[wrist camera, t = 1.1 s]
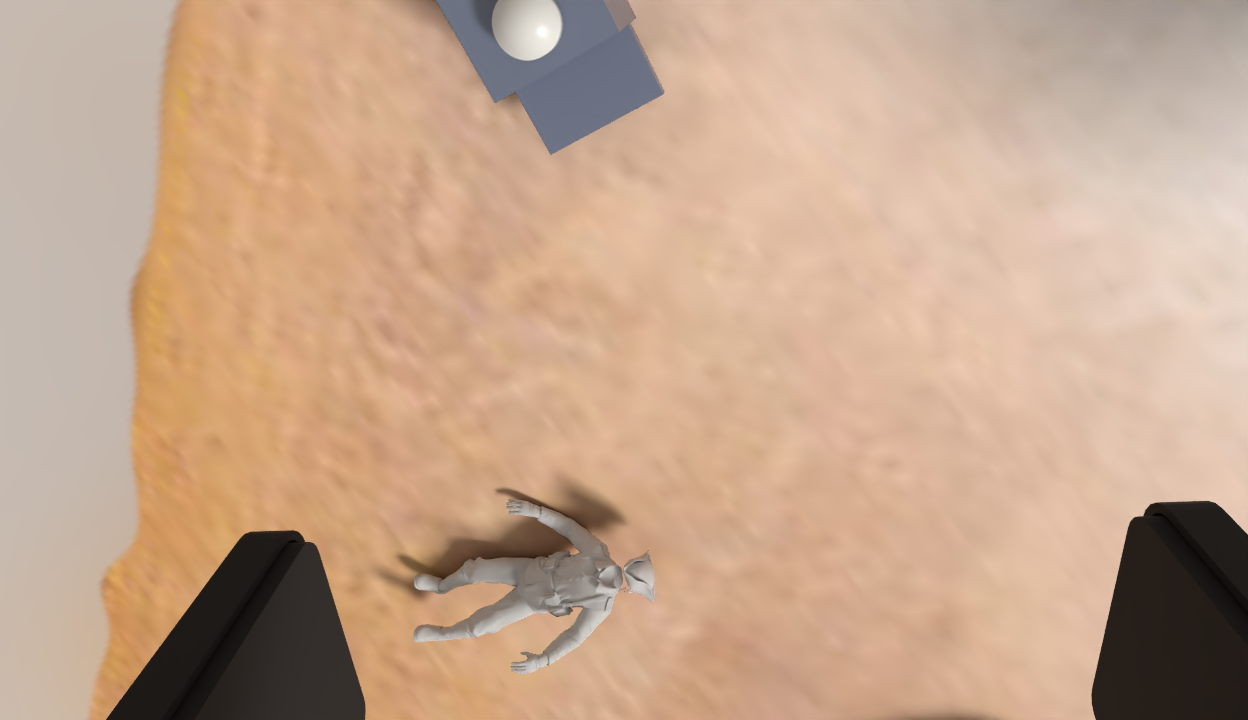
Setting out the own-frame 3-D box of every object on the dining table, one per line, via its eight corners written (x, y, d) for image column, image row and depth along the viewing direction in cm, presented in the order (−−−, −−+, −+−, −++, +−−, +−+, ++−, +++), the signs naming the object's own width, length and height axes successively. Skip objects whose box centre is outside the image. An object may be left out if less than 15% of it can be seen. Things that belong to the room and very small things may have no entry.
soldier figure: (411, 516, 42) (592, 477, 36) (482, 521, 46) (658, 487, 39) (409, 679, 40) (603, 671, 33) (484, 671, 44) (673, 662, 37)
